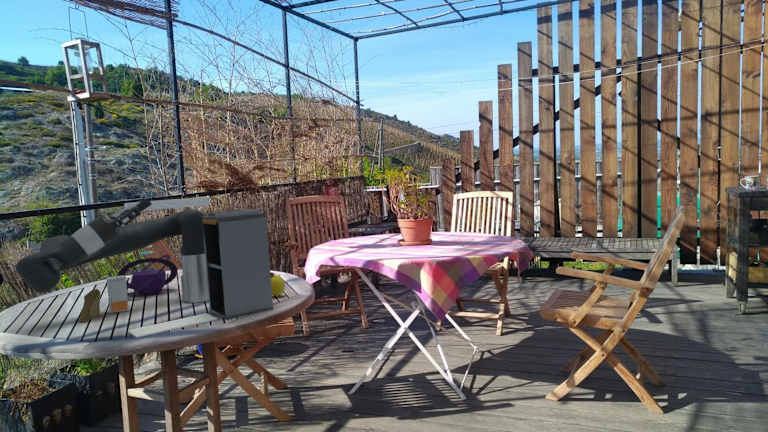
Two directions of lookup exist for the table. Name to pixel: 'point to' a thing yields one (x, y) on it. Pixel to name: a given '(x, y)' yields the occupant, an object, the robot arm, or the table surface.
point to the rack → (237, 262)
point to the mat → (171, 325)
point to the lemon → (277, 285)
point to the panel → (173, 203)
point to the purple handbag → (149, 275)
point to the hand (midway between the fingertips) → (147, 201)
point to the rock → (90, 306)
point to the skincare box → (117, 294)
